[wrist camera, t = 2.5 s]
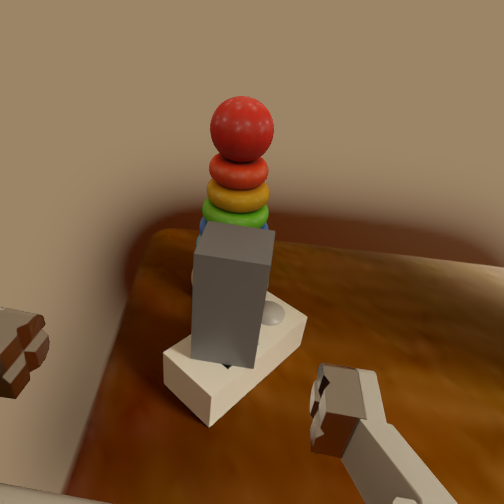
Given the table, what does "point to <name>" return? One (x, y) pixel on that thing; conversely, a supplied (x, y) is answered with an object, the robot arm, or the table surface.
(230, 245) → the gray rectangular block
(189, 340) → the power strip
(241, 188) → the stacking toy
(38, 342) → the robot arm
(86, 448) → the table surface
